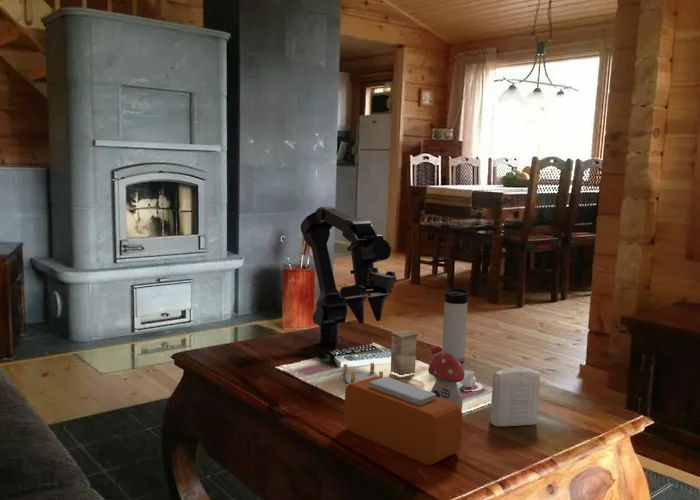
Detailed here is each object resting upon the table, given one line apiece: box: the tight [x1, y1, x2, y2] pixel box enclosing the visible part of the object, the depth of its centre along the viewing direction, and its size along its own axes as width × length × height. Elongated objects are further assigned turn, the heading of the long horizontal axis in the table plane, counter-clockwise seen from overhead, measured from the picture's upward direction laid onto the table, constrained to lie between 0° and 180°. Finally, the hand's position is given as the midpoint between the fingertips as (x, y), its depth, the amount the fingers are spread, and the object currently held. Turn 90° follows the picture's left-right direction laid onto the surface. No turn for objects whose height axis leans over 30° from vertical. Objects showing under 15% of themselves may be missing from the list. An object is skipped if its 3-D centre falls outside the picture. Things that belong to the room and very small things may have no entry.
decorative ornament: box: [428, 345, 465, 411], centre depth 146 cm, size 9×6×15 cm
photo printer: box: [489, 366, 541, 427], centre depth 143 cm, size 10×4×12 cm, turn 103°
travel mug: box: [441, 287, 468, 363], centre depth 187 cm, size 6×7×20 cm
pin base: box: [340, 362, 384, 386], centre depth 167 cm, size 9×9×3 cm
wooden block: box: [390, 329, 418, 375], centre depth 173 cm, size 4×5×11 cm
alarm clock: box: [343, 375, 463, 466], centre depth 132 cm, size 24×8×11 cm, turn 45°
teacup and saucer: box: [461, 369, 483, 392], centre depth 166 cm, size 9×8×4 cm
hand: (370, 322), depth 180 cm, fingers open, 9 cm apart
